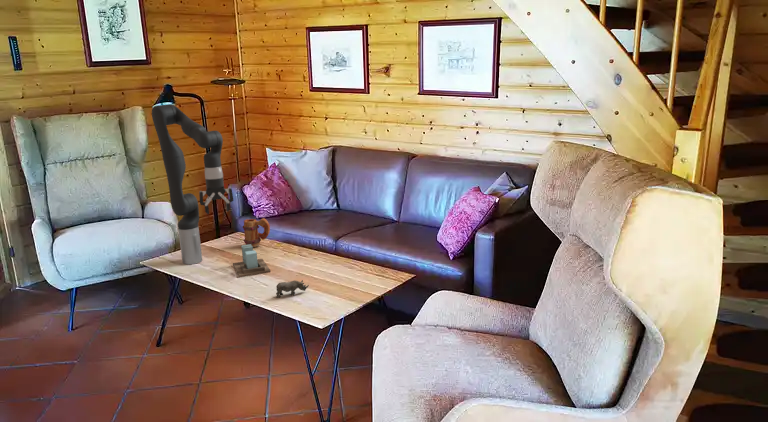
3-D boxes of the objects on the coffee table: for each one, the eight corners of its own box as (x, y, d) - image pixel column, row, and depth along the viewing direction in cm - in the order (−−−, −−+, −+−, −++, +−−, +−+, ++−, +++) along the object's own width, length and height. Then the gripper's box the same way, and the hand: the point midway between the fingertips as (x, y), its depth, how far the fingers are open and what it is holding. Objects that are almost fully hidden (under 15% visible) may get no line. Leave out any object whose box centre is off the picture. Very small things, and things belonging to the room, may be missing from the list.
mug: (241, 248, 295) (238, 220, 291) (247, 243, 302) (244, 216, 299) (268, 249, 292) (265, 221, 288) (273, 244, 300) (271, 216, 296)
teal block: (246, 268, 263) (245, 251, 261) (256, 266, 264) (254, 250, 262) (248, 271, 259) (246, 254, 257) (258, 269, 260) (256, 253, 258)
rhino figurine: (310, 293, 234) (309, 280, 233) (276, 298, 230) (275, 284, 228) (308, 290, 238) (307, 276, 236) (275, 295, 234) (274, 281, 232)
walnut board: (232, 265, 270) (231, 247, 268) (262, 260, 276) (260, 242, 273) (239, 277, 254) (237, 258, 252) (270, 272, 260) (268, 253, 257)
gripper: (229, 173, 257) (232, 208, 261) (196, 177, 252) (200, 212, 256) (231, 176, 250) (235, 212, 254) (198, 180, 245) (202, 216, 249)
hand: (217, 212), depth 255 cm, fingers open, 8 cm apart
